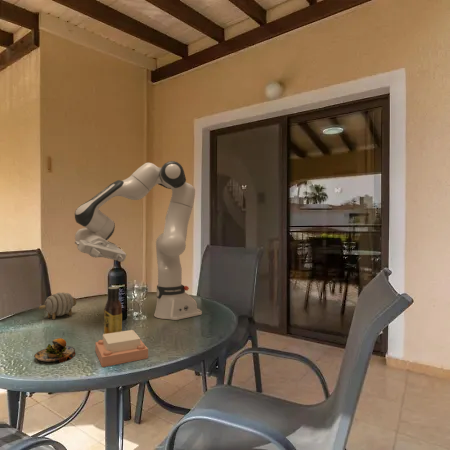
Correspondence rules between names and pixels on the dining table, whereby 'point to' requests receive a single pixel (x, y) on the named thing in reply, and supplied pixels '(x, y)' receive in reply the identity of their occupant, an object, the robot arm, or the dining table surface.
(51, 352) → the burger
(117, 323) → the sauce bottle
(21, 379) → the dining table surface
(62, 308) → the toy sheep
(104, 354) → the brick stack
